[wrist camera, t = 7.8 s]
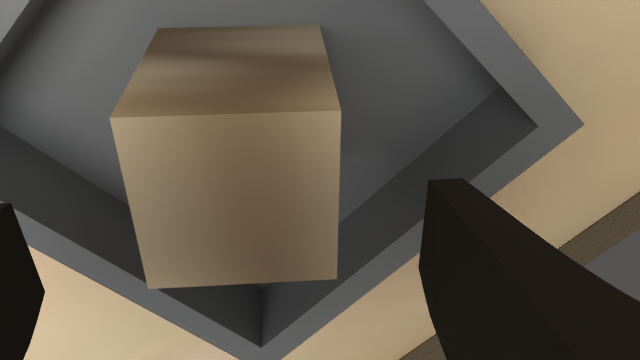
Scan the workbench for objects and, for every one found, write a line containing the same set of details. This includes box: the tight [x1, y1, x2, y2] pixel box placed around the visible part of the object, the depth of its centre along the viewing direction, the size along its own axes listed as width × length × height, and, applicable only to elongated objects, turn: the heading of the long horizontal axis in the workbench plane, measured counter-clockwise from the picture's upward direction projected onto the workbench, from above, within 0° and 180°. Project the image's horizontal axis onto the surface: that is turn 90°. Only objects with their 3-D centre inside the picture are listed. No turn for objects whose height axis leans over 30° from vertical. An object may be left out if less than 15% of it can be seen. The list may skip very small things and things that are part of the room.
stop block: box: [110, 25, 341, 289], centre depth 13 cm, size 4×4×5 cm
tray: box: [0, 0, 584, 360], centre depth 14 cm, size 12×12×3 cm
